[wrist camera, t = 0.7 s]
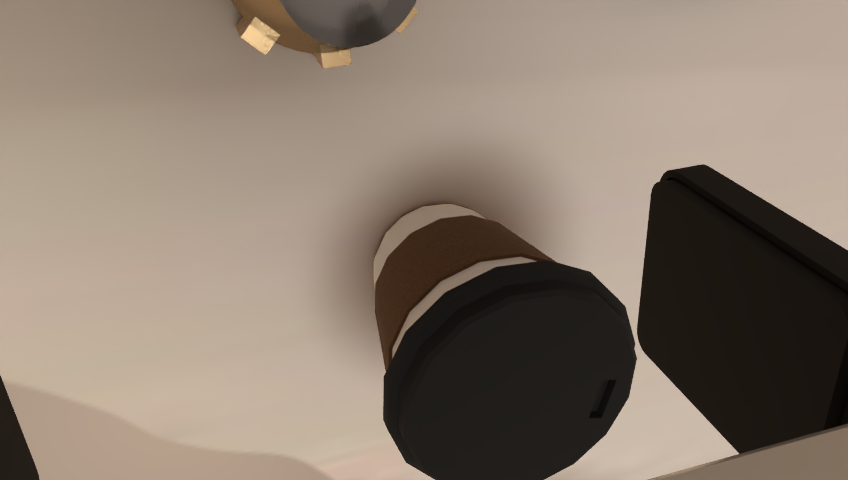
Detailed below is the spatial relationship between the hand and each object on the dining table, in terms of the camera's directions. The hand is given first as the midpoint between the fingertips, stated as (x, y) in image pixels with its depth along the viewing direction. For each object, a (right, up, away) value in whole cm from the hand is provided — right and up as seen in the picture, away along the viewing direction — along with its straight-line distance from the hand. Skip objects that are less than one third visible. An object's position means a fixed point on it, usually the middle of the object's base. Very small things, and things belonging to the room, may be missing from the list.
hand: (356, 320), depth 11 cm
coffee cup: (+1, 0, +30) cm, 30 cm away
